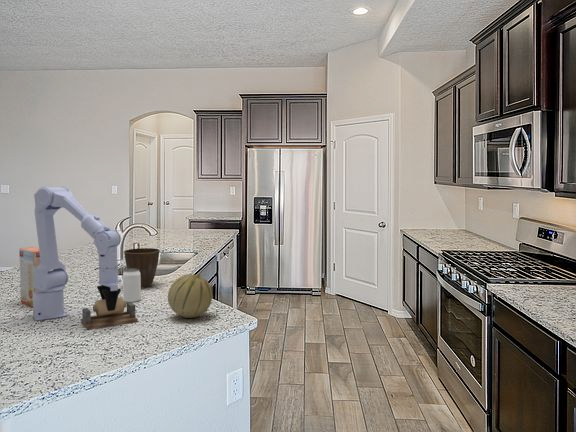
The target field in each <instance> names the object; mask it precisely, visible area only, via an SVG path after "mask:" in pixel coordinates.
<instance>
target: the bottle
mask: <svg viewBox="0 0 576 432" xmlns="http://www.w3.org/2000/svg"><path fill="white" fill-rule="evenodd" d="M94 303H95V304H93V305H92V311H93V313H95V316H101V315H108V314H114V313H121V312H125V309H127V305H126V303H127V302H126V301H124V300H123V296H121V297H120V296H118V298H117V302H116V307H115V310H113V311H108V310H107V306H106V300H105V299H103V300H102V299H98V300H97V299H96V300H95V302H94Z"/></svg>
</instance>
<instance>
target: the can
mask: <svg viewBox="0 0 576 432" xmlns="http://www.w3.org/2000/svg"><path fill="white" fill-rule="evenodd" d="M122 286H123V287H122V289H123V290H122V294H123V295H122V298H123V300H124V301H126V303H128V302H131V303H137V302H140V301H141V299H142V288H141V275H140V272H139V269H127V268H125V269H124V270H123V274H122Z"/></svg>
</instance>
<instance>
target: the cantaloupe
mask: <svg viewBox="0 0 576 432" xmlns="http://www.w3.org/2000/svg"><path fill="white" fill-rule="evenodd" d="M212 291H213V290H212V287H211V285H210V283H209V282H208V280H207V279H206V278H204V277H202V276H201V273H197V274H192V273H191V274H190V273H187V274H183V275H181V276H179V277H178V278H176V279H175V280H174V281H173V282H172V284H171V285H170V286H169V288H168V293H167V302H168V305H169V307H170V309H171V310H172V311H173V312H174V313H175V314H176V315H178V316H180V317H183V318H185V319H193V318H194V319H195V318H198V317H200V316H202V315H204V313H206V312H207V311H208V310H209V308H210V306H211V303H212V301H213V292H212Z"/></svg>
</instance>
